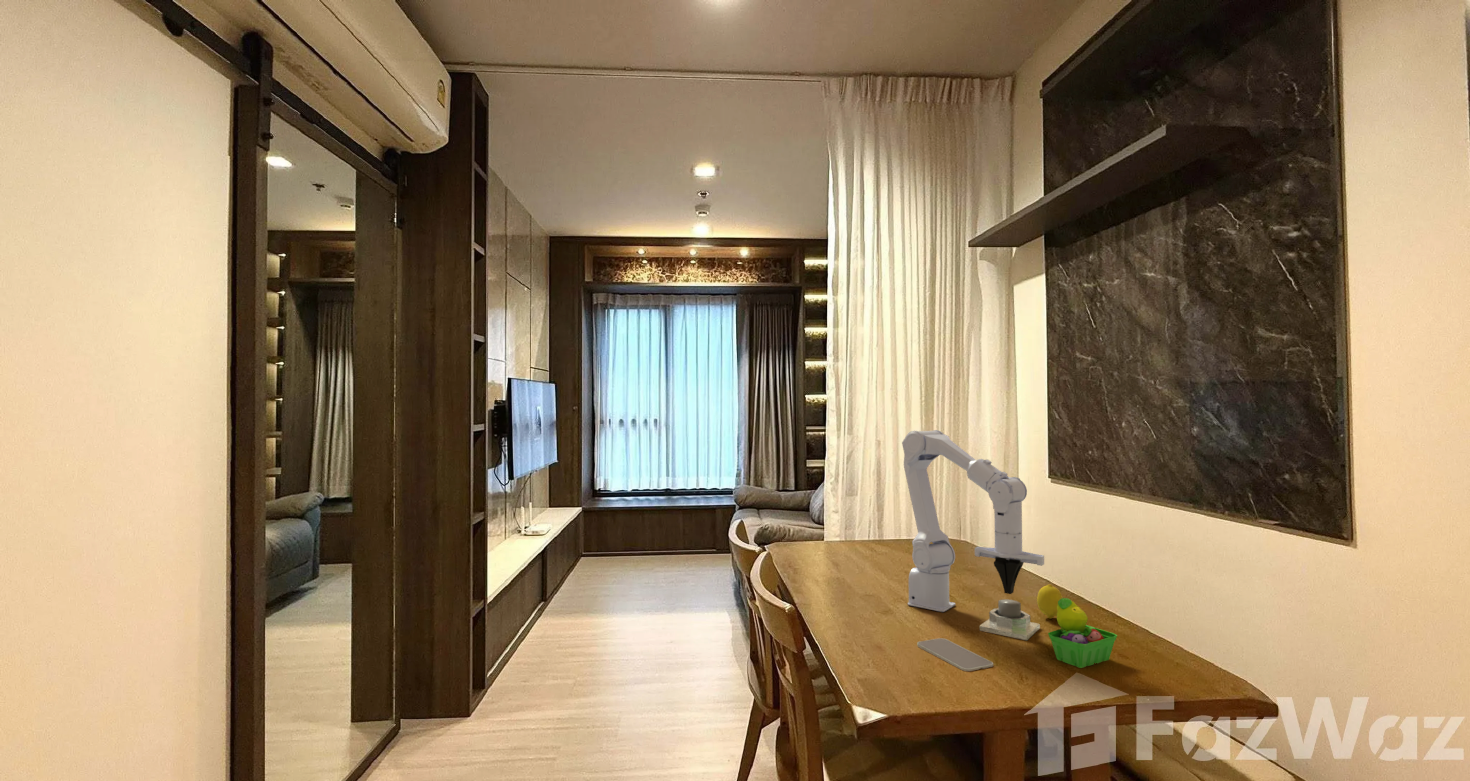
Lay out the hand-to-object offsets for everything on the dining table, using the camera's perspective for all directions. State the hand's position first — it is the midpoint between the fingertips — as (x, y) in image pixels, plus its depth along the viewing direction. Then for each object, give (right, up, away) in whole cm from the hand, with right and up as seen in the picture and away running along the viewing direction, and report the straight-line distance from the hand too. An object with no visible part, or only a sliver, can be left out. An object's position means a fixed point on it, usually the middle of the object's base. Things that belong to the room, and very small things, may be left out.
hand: (1009, 592), depth 145 cm
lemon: (+13, -9, +7) cm, 17 cm away
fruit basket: (+7, -8, -17) cm, 20 cm away
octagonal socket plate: (0, -8, 0) cm, 8 cm away
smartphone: (-18, -8, -15) cm, 25 cm away
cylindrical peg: (0, -7, 0) cm, 7 cm away
